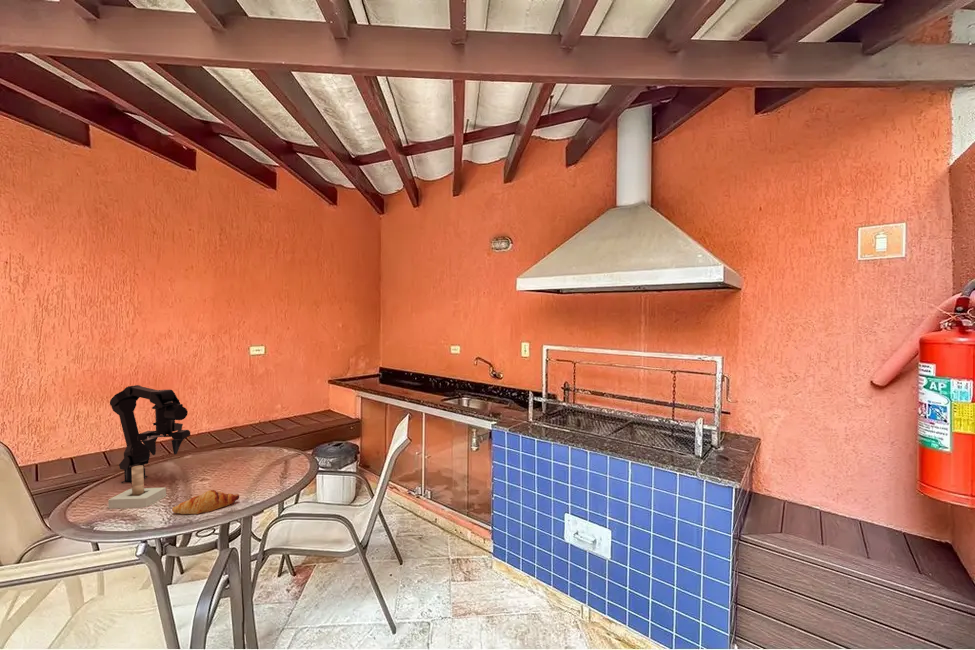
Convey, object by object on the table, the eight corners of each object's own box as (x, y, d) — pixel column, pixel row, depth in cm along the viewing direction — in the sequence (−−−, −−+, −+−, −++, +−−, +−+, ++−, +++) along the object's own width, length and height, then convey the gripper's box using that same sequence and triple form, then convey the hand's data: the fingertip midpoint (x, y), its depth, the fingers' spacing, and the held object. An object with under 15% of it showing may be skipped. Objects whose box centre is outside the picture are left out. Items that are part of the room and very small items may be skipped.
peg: (129, 504, 156) (129, 468, 155) (137, 500, 159) (136, 465, 159) (139, 504, 156) (138, 468, 156) (146, 500, 159) (145, 465, 159)
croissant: (170, 527, 144) (166, 512, 141) (176, 504, 152) (172, 489, 149) (239, 512, 153) (237, 498, 150) (241, 492, 161) (239, 477, 158)
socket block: (108, 508, 152) (108, 499, 152) (130, 497, 162) (130, 488, 162) (146, 507, 153) (146, 498, 153) (166, 496, 163) (166, 487, 163)
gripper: (198, 414, 183) (199, 448, 184) (156, 415, 183) (157, 449, 183) (180, 420, 172) (181, 456, 172) (136, 421, 172) (137, 457, 172)
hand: (164, 454), depth 175 cm, fingers open, 9 cm apart
